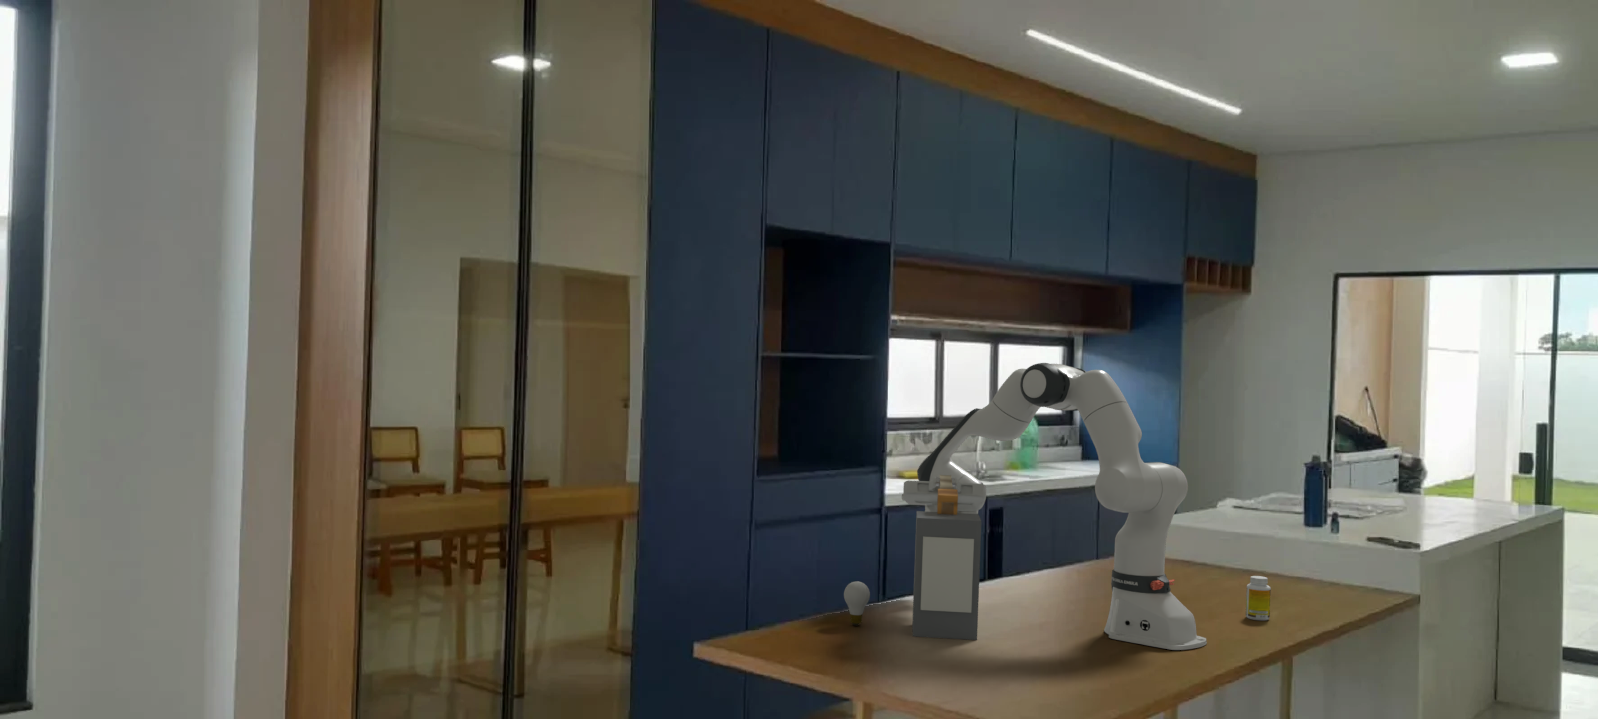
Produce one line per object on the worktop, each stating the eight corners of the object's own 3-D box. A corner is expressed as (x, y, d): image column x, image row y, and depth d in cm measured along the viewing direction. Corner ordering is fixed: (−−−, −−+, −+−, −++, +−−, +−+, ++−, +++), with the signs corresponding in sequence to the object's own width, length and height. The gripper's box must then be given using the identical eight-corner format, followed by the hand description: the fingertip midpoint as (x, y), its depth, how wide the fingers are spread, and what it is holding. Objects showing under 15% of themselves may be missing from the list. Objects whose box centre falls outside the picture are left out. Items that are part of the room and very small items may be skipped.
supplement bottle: (1273, 621, 293) (1275, 579, 293) (1251, 620, 293) (1252, 579, 293) (1263, 616, 299) (1265, 575, 299) (1241, 615, 298) (1243, 574, 298)
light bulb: (866, 629, 268) (868, 584, 268) (840, 627, 270) (842, 582, 270) (870, 623, 274) (872, 580, 274) (845, 621, 275) (846, 578, 275)
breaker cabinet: (912, 624, 275) (916, 511, 275) (973, 627, 274) (978, 513, 274) (912, 636, 263) (917, 518, 263) (977, 640, 262) (981, 521, 262)
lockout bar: (935, 485, 293) (936, 468, 293) (954, 486, 293) (954, 469, 292) (937, 513, 272) (938, 495, 271) (957, 514, 271) (958, 495, 271)
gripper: (902, 489, 303) (902, 466, 292) (983, 493, 302) (987, 470, 290) (901, 512, 300) (902, 490, 288) (983, 516, 299) (988, 494, 287)
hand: (945, 480), depth 289 cm, fingers closed on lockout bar, 3 cm apart
